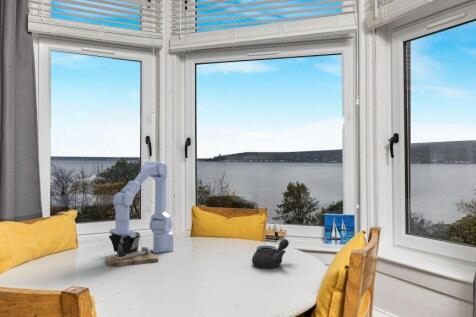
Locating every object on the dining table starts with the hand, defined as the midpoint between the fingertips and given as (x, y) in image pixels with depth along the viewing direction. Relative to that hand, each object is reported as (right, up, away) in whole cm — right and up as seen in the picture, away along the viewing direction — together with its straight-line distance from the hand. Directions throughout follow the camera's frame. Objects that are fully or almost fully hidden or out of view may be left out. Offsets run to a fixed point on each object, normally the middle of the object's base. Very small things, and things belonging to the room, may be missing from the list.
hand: (122, 252), depth 165 cm
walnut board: (+3, -5, +3) cm, 6 cm away
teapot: (+65, -5, 0) cm, 65 cm away
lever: (+4, -3, +5) cm, 7 cm away
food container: (-2, -5, +17) cm, 17 cm away
